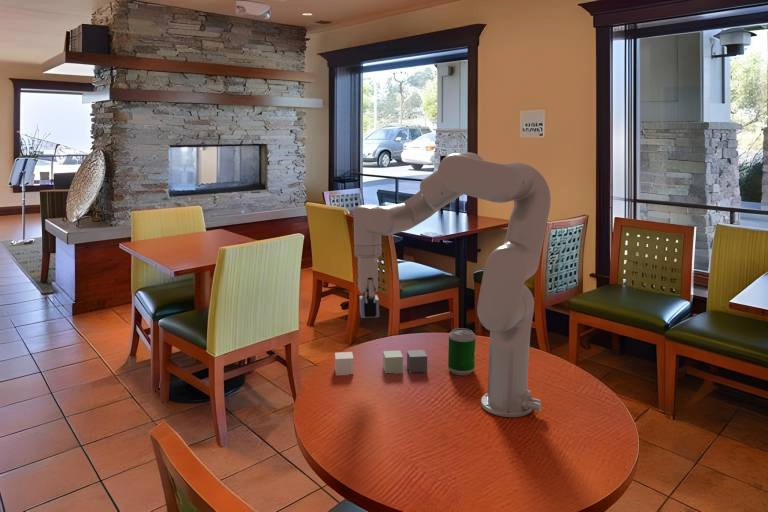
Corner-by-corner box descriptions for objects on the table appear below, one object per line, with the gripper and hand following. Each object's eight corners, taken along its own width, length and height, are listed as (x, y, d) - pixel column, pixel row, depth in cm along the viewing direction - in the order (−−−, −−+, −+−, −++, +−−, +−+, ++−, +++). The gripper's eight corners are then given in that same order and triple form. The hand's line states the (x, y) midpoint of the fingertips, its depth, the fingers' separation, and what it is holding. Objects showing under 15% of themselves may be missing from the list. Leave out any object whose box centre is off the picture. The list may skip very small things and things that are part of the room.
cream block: (352, 367, 165) (352, 351, 164) (353, 374, 160) (353, 358, 159) (335, 368, 165) (334, 352, 164) (336, 375, 160) (335, 359, 159)
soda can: (473, 377, 158) (475, 336, 156) (446, 375, 160) (447, 335, 157) (474, 367, 165) (476, 328, 163) (449, 365, 167) (450, 326, 164)
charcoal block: (423, 365, 167) (423, 349, 166) (427, 372, 162) (427, 356, 161) (406, 366, 166) (407, 350, 165) (409, 373, 161) (409, 357, 160)
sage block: (399, 366, 166) (400, 350, 165) (402, 373, 161) (402, 356, 160) (383, 367, 166) (383, 351, 165) (385, 374, 161) (385, 357, 160)
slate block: (377, 311, 162) (376, 295, 161) (379, 317, 157) (378, 299, 156) (359, 312, 162) (359, 295, 161) (361, 318, 157) (360, 300, 156)
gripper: (352, 245, 164) (353, 306, 167) (356, 256, 147) (358, 323, 151) (378, 244, 165) (379, 304, 168) (385, 255, 148) (386, 322, 151)
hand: (369, 312), depth 159 cm, fingers closed on slate block, 4 cm apart
